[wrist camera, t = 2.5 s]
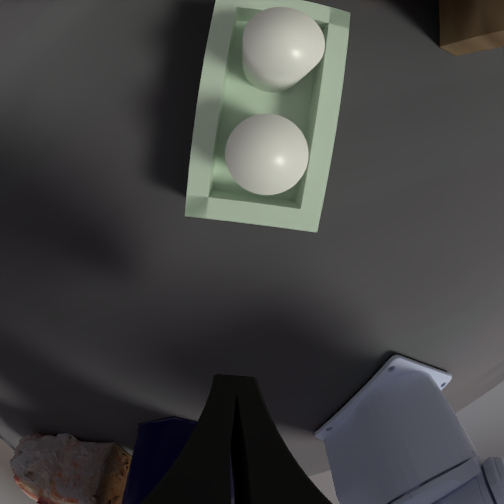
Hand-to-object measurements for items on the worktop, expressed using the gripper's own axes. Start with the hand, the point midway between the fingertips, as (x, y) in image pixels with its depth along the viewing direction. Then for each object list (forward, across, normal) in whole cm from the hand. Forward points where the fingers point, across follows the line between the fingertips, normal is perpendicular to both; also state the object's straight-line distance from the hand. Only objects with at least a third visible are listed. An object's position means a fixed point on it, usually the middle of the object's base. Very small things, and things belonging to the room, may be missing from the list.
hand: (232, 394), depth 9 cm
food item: (+7, +14, +22) cm, 27 cm away
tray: (+6, 0, -9) cm, 11 cm away
